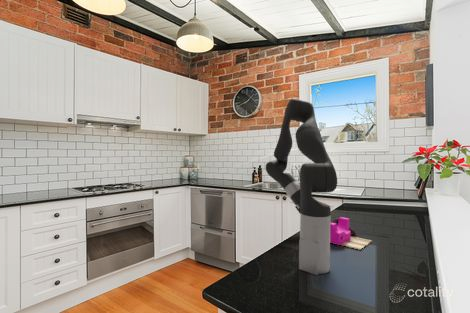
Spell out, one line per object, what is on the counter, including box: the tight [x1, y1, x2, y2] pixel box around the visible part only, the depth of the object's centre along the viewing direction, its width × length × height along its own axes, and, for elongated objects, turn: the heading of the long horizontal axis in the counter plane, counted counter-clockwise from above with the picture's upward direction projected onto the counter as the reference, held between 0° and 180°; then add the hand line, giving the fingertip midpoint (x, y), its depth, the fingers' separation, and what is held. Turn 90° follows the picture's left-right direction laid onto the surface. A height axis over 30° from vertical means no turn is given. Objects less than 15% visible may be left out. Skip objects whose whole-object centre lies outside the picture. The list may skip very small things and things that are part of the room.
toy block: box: [330, 216, 351, 246], centre depth 114 cm, size 15×6×8 cm, turn 134°
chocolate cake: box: [331, 216, 358, 237], centre depth 124 cm, size 10×7×12 cm
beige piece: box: [341, 236, 373, 251], centre depth 115 cm, size 14×24×13 cm, turn 48°
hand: (319, 221), depth 120 cm, fingers open, 8 cm apart
